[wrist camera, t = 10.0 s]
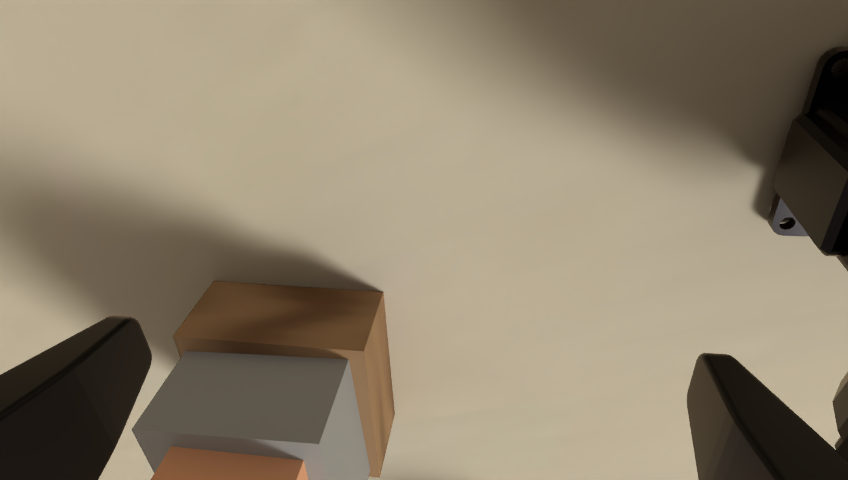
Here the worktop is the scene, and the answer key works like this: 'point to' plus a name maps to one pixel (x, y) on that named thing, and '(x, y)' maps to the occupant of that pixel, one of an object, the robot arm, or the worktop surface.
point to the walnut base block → (304, 339)
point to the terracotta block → (226, 466)
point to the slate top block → (259, 412)
